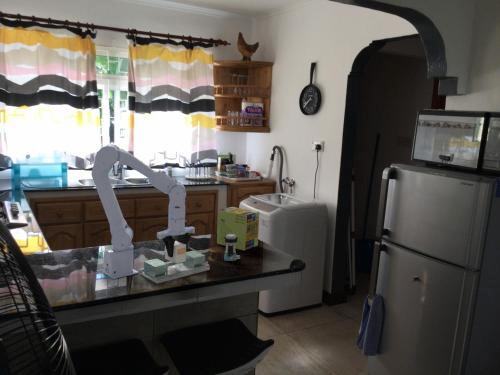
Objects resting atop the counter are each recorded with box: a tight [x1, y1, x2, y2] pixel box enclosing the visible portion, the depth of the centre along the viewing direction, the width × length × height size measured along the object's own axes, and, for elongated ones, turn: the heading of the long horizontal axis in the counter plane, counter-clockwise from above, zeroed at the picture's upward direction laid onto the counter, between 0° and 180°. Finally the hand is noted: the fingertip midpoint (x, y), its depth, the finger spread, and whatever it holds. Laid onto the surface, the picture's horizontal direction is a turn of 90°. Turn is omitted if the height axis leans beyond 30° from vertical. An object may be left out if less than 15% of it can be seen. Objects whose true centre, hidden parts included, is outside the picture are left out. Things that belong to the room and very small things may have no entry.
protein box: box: [216, 206, 260, 251], centre depth 184 cm, size 10×15×16 cm
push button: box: [223, 234, 241, 262], centre depth 163 cm, size 7×5×10 cm
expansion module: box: [164, 241, 187, 263], centre depth 147 cm, size 4×7×6 cm, turn 44°
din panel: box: [139, 250, 211, 284], centre depth 147 cm, size 22×11×5 cm, turn 134°
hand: (175, 255), depth 147 cm, fingers closed on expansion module, 4 cm apart
